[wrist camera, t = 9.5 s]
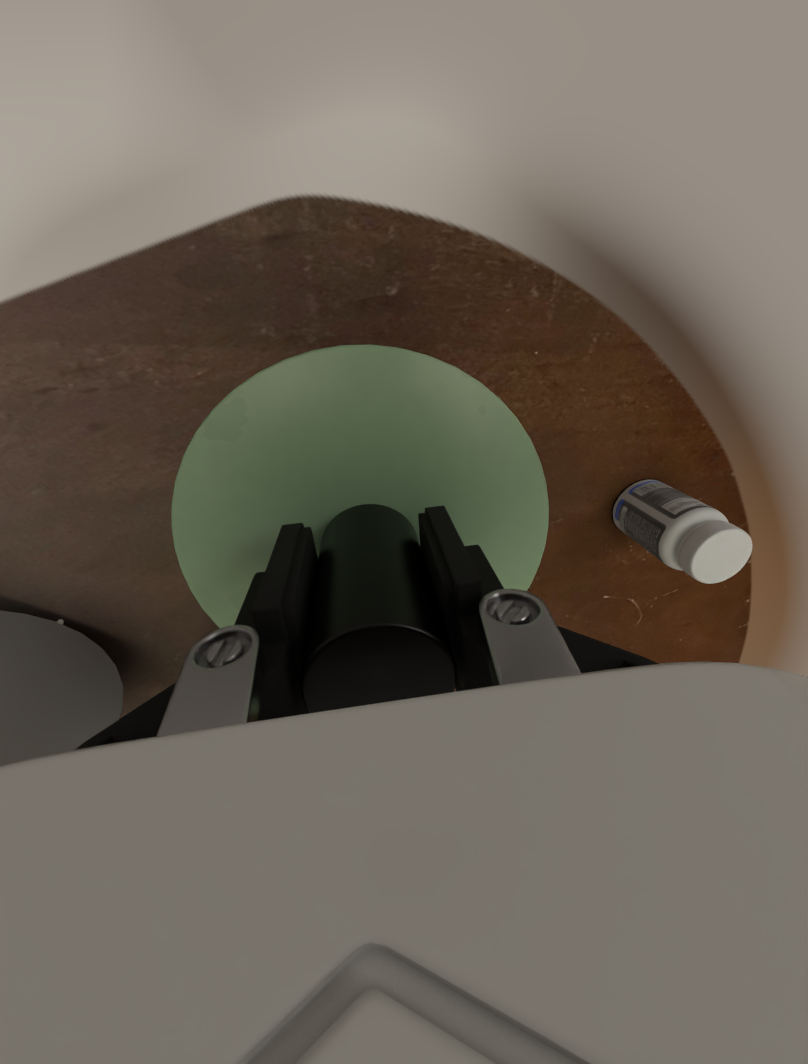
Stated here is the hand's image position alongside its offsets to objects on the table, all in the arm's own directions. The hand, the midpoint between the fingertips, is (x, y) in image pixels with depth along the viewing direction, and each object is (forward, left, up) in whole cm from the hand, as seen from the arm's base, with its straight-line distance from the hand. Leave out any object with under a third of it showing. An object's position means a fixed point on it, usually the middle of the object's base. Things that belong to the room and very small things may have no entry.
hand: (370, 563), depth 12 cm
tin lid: (0, 0, -2) cm, 2 cm away
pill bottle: (+23, +3, -18) cm, 30 cm away
